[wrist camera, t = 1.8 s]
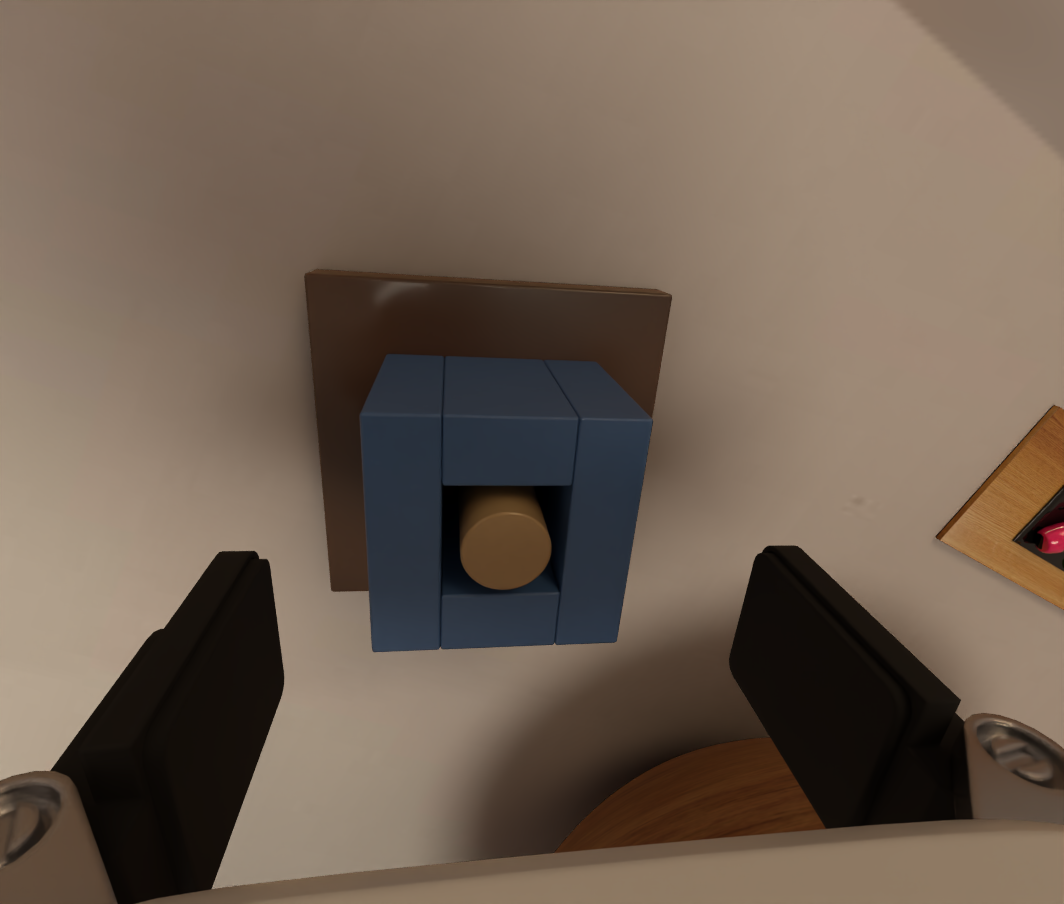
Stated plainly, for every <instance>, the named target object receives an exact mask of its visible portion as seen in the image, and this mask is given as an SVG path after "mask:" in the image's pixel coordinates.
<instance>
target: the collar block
mask: <svg viewBox="0 0 1064 904" xmlns="http://www.w3.org/2000/svg"><path fill="white" fill-rule="evenodd" d="M359 416H360V435H361V453H362V472H363V491H364V509H365V528H366V547H367V566H368V584H369V603H370V622H371V640H372V650H373V652H390V651H414V650H437V649H439V648H440V646H441V648H442V649H463V648H487V647H511V646H536V645H553V644H554V642H555V644H556V645H566V644H590V643H614V642H616V641H617V636H618V630H619V624H620V618H621V612H622V606H623V600H624V594H625V588H626V582H627V575H628V569H629V563H630V557H631V551H632V545H633V539H634V533H635V527H636V521H637V515H638V509H639V503H640V497H641V491H642V485H643V479H644V472H645V466H646V460H647V454H648V448H649V442H650V436H651V430H652V424H653V419H652V418H651V417H650V416H649V415H648V414H647V413H646V412H645V411H644V410H643V409H642V408H641V407H640V406H639V405H638V404H637V403H636V402H635V401H634V400H633V399H632V398H631V397H630V396H629V395H628V394H627V393H626V392H625V391H624V390H623V389H622V387H621V386H620V385H619V384H618V383H617V382H616V381H615V380H614V379H613V378H612V377H611V376H610V375H609V374H608V373H607V372H606V371H605V370H604V369H603V368H602V367H601V366H600V365H599V364H598V363H597V362H593V361H566V360H544V361H543V360H538V359H511V358H485V357H458V356H446V357H445V359H444V357H443V356H430V355H404V354H387V355H386V357H385V359H384V361H383V364H382V366H381V368H380V370H379V373H378V375H377V377H376V379H375V382H374V384H373V386H372V388H371V390H370V393H369V395H368V397H367V399H366V402H365V404H364V406H363V408H362V411H361V413H360V415H359ZM443 485H445V486H534V487H535V490H536V494H537V497H538V500H539V503H540V507H541V510H542V513H543V516H544V520H545V523H546V526H547V529H548V533H549V536H550V539H551V545H552V548H551V556H550V559H549V562H548V564H547V566H546V567H545V569H544V570H543V572H542V573H541V574H540V575H539V576H538V577H537V578H536V579H534V580H533V581H531V582H530V583H528V584H526V585H524V586H521V587H518V588H515V589H509V590H497V589H491V588H487V587H485V586H482V585H481V584H479V583H477V582H476V581H474V580H473V579H472V578H471V577H470V576H469V575H468V574H467V572H466V571H465V569H464V568H463V565H462V563H461V559H460V537H459V502H458V496H444V498H443Z"/></svg>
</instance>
